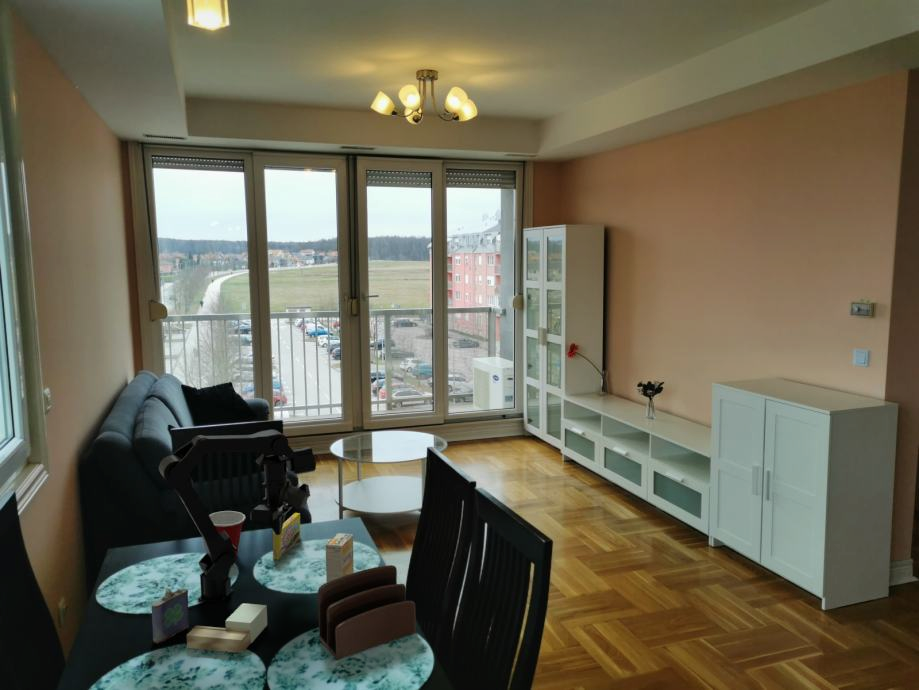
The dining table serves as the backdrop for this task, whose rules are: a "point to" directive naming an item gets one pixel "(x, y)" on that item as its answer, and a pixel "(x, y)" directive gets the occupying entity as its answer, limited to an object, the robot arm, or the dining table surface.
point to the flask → (170, 614)
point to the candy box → (286, 536)
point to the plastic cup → (229, 524)
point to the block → (249, 619)
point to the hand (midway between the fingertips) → (278, 534)
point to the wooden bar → (218, 639)
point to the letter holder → (364, 611)
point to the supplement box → (339, 556)
